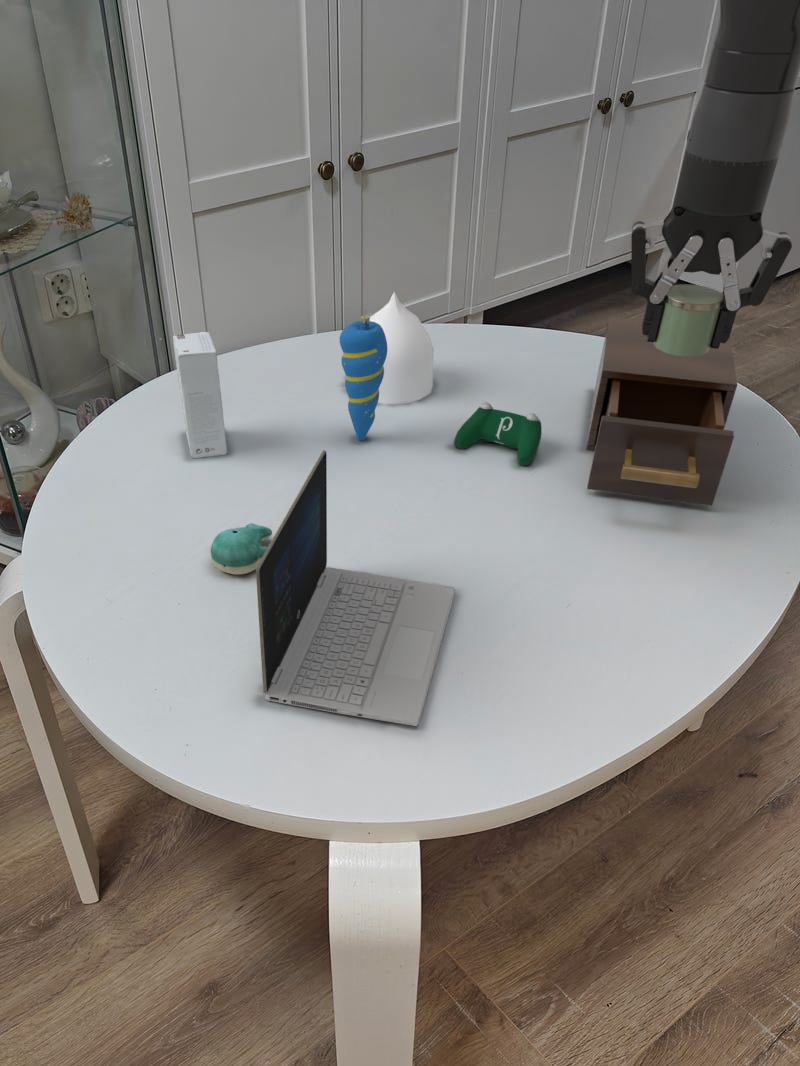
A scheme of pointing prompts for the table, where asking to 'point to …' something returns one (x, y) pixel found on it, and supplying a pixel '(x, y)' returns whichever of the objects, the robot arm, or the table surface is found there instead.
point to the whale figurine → (239, 548)
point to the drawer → (661, 442)
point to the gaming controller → (502, 431)
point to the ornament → (363, 370)
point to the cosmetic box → (200, 394)
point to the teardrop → (404, 355)
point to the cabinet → (656, 368)
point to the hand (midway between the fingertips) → (682, 341)
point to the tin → (688, 320)
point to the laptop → (343, 623)
